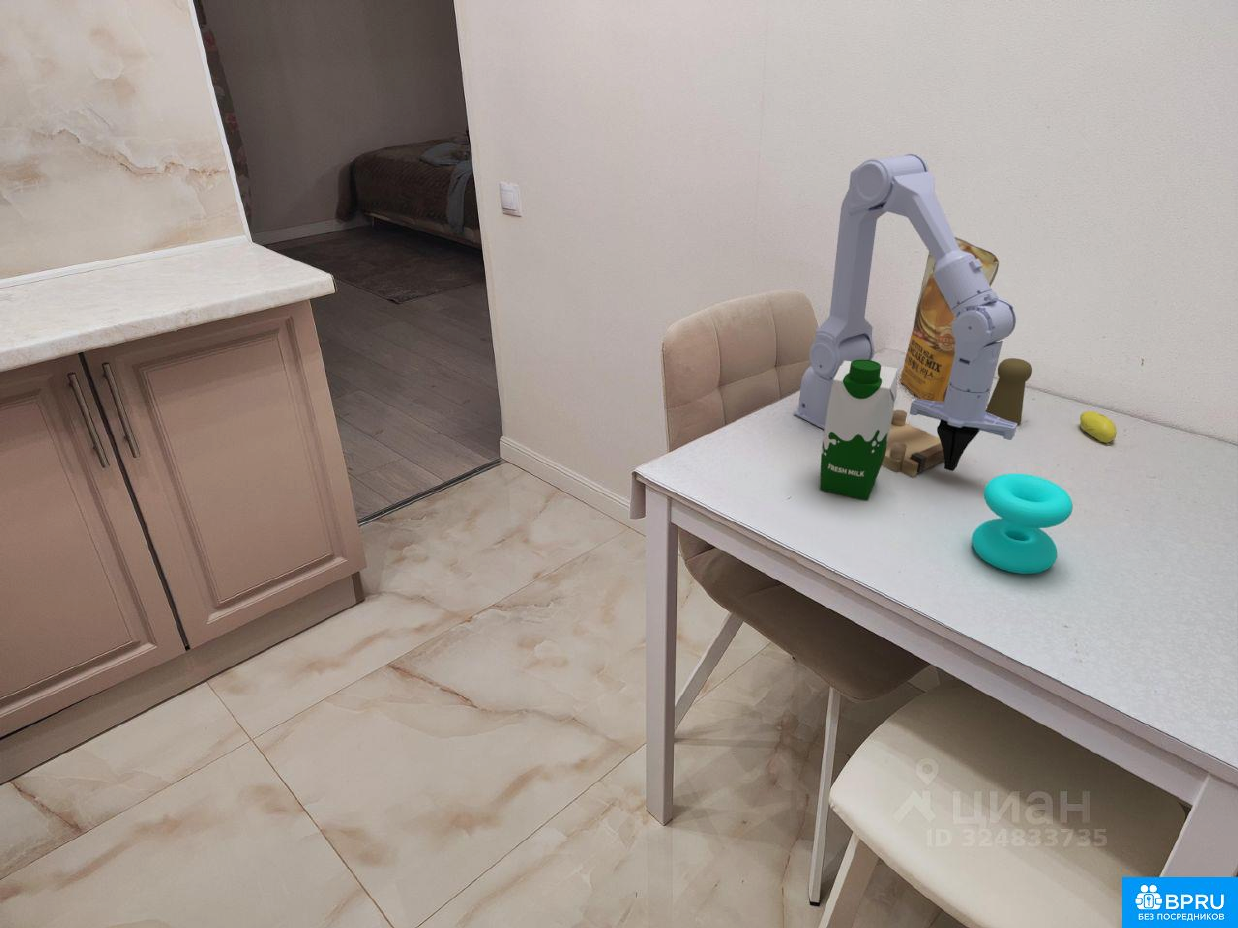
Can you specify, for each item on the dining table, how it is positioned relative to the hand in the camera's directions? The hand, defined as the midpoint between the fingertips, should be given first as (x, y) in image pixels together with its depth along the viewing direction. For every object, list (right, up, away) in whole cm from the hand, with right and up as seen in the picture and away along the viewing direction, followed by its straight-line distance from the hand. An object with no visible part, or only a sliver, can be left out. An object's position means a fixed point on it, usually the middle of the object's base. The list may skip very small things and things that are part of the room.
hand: (950, 467), depth 119 cm
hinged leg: (-1, +1, +4) cm, 4 cm away
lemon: (+30, +5, +13) cm, 33 cm away
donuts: (+1, -12, -17) cm, 21 cm away
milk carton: (-16, -3, -1) cm, 16 cm away
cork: (+16, +8, +18) cm, 26 cm away
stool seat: (-4, +3, +8) cm, 9 cm away
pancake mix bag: (+7, +14, +29) cm, 33 cm away
